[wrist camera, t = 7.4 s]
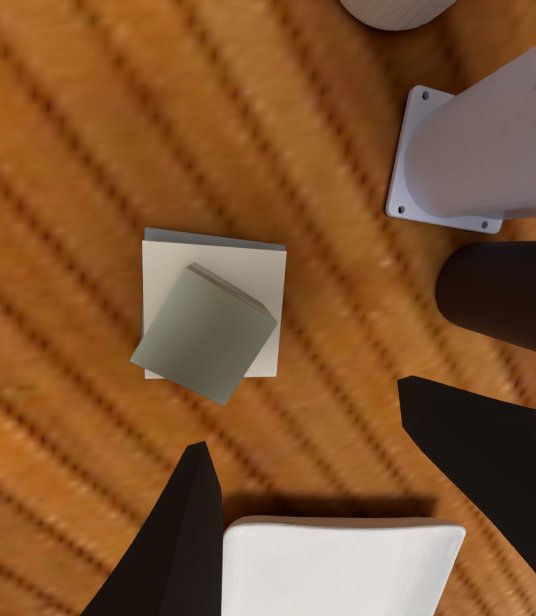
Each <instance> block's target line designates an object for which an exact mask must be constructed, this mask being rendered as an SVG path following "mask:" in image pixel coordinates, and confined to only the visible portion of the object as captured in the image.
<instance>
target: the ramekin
mask: <svg viewBox="0 0 536 616" xmlns="http://www.w3.org/2000/svg"><path fill="white" fill-rule="evenodd" d="M456 1H457V0H340V2H341V3H342V4H343V6H344V7H345V8H346V9H347V10H348V11H349V12H350V13H351V14H352V15H353V16H354V17H356V18H357V19H358V20H360V21H361V22H363V23H365V24H367V25H369V26H371V27H374V28H377V29H382V30H394V31H398V30H407V29H410V28H416V27H418V26H420V25H422V24H425V23H428V22H429V21H431V20H432V19H433V18H435V17H436V16H438V15H439V14H440V13H442V12H443V11H444V10H446V9H447V8H448V7H449V6H451V5H452V4H453V3H454V2H456Z"/></svg>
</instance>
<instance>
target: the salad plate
mask: <svg viewBox="0 0 536 616" xmlns="http://www.w3.org/2000/svg"><path fill="white" fill-rule="evenodd" d="M465 534H466V530H465V528H464V527H463V526H462V525H460V524H458V523H455V522H452V521H449V520H445V519H439V518H429V517H406V518H329V517H288V516H266V515H252V516H246V517H242V518H240V519H238V520H236V521H234V522H233V523H232V524H231V525H229V527H228V528H227V529H226V531H225V533H224V535H223V569H222V609H221V616H433V614H434V612H435V609H436V607H437V604H438V602H439V599H440V597H441V594H442V592H443V589H444V587H445V585H446V582H447V580H448V577H449V574H450V572H451V570H452V567H453V564H454V562H455V559H456V557H457V554H458V552H459V549H460V547H461V545H462V542H463V540H464V537H465Z"/></svg>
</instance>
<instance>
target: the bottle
mask: <svg viewBox="0 0 536 616" xmlns="http://www.w3.org/2000/svg"><path fill="white" fill-rule="evenodd" d="M437 298H438V302H439V306H440V310H441V311H442V312H443V314H444V315H445V317H446V318H447V319H448V320H449V321H451V322H452V323H454V324H455V325H457V326H459V327H462V328H465V329H468V330H471V331H474V332H477V333H480V334H483V335H486V336H490V337H493V338H496V339H499V340H502V341H505V342H508V343H511V344H514V345H517V346H520V347H523V348H526V349H529V350H532V351H535V352H536V241H507V242H482V243H474V244H471V245H469V246H467V247H465V248H463V249H461V250H460V251H459V252H457V253H456V254H455V255H454V256H453V257H452V258H451V259H450V260H449V262H448V263H447V265H446V266H445V268H444V270H443V271H442V274H441V277H440V280H439V283H438V297H437Z"/></svg>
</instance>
